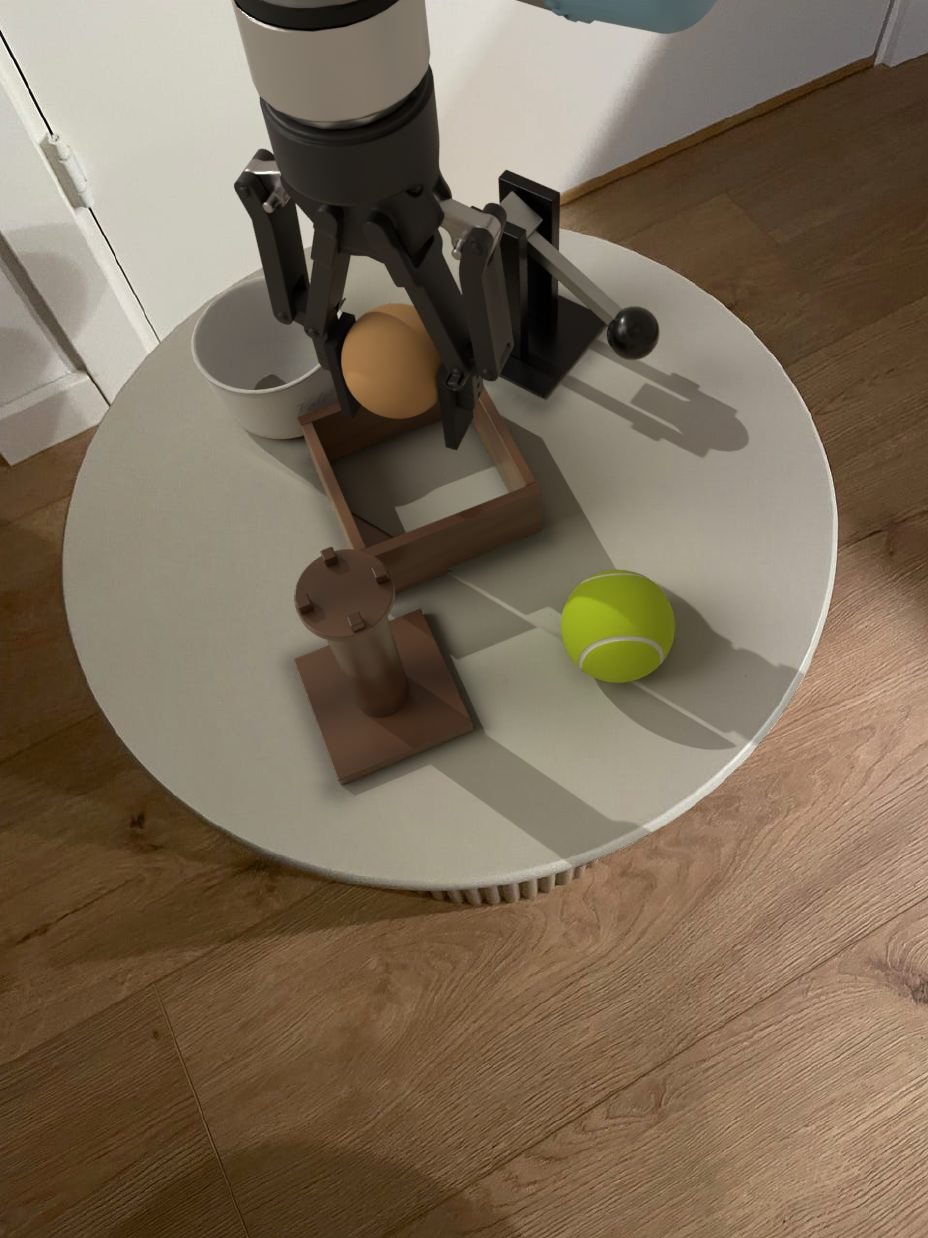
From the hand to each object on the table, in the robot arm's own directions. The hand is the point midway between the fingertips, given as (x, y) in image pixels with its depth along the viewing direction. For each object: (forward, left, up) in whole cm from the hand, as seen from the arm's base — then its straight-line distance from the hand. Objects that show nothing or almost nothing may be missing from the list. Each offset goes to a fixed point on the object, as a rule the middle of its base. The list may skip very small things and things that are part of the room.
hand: (407, 416), depth 63 cm
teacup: (+14, +5, -10) cm, 18 cm away
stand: (-13, +8, -10) cm, 18 cm away
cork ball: (0, 0, +5) cm, 5 cm away
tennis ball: (-16, -7, -10) cm, 20 cm away
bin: (0, 0, -10) cm, 10 cm away
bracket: (+11, -12, -10) cm, 19 cm away
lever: (+7, -14, -3) cm, 16 cm away
